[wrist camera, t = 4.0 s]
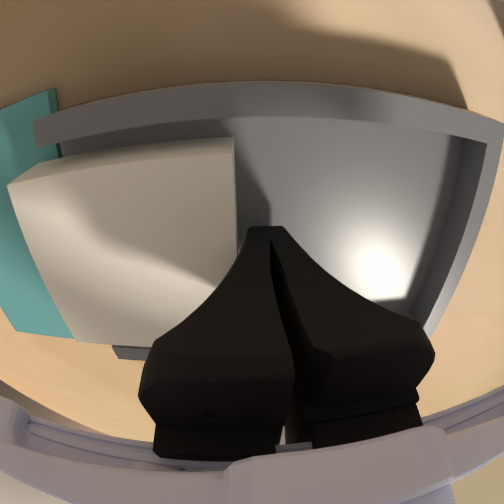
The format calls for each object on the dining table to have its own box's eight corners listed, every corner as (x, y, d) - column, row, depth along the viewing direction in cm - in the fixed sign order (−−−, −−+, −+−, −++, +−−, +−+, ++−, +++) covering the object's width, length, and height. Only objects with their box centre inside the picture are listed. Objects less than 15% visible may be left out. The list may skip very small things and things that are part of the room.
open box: (413, 309, 16) (429, 339, 14) (129, 324, 16) (118, 358, 14) (469, 110, 9) (505, 124, 7) (67, 107, 9) (32, 121, 7)
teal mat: (126, 335, 16) (124, 342, 16) (19, 325, 16) (16, 331, 16) (55, 88, 8) (47, 90, 8) (-57, 142, 8) (-63, 146, 8)
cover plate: (241, 310, 14) (242, 347, 12) (89, 309, 14) (76, 341, 12) (233, 136, 9) (232, 154, 8) (38, 163, 9) (6, 185, 7)
